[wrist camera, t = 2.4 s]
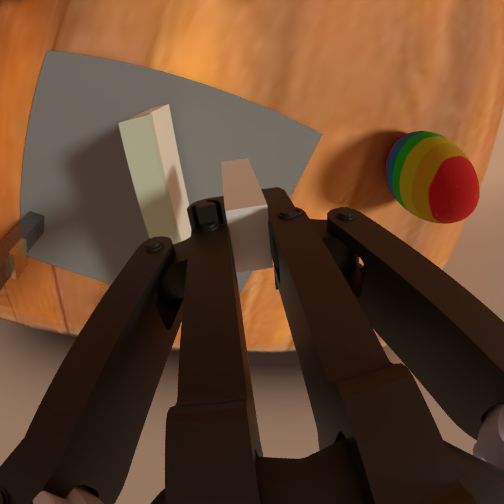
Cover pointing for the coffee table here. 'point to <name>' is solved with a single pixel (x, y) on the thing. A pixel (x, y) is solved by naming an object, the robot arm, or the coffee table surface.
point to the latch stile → (19, 246)
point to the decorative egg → (432, 177)
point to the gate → (157, 173)
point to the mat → (115, 162)
